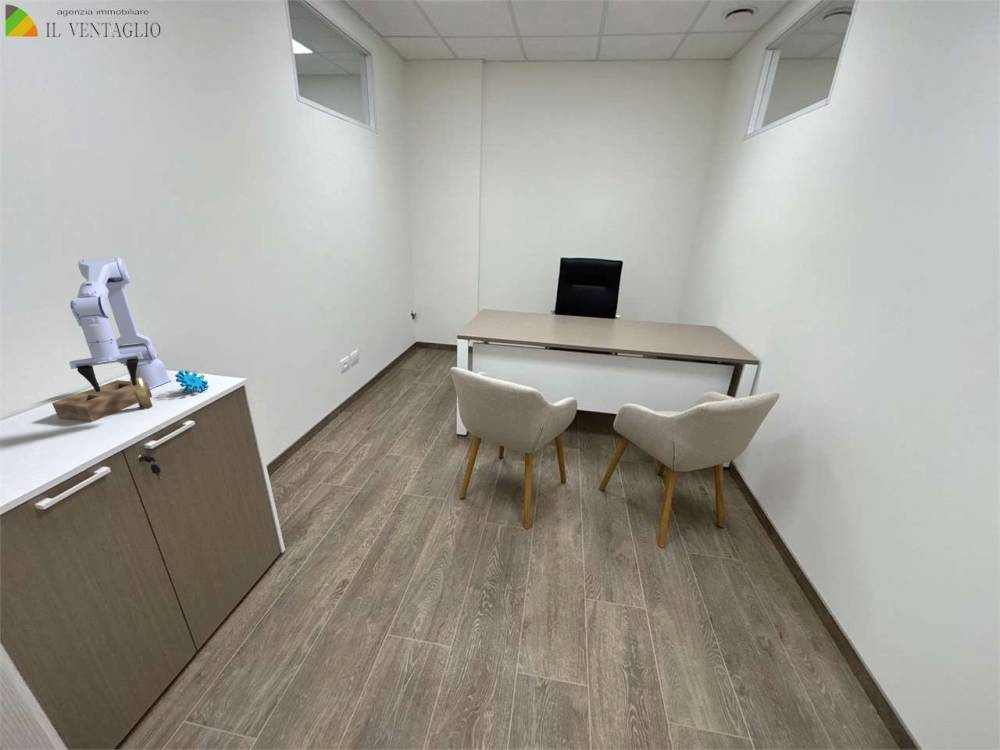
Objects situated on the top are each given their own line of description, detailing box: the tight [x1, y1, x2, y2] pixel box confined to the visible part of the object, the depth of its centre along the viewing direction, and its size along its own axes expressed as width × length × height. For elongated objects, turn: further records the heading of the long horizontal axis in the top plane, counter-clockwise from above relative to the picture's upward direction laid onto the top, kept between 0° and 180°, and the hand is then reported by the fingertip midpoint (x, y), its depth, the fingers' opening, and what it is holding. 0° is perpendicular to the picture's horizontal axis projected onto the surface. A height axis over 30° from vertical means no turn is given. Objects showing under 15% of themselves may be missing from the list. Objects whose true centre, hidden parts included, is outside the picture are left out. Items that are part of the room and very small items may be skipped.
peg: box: [129, 376, 153, 410], centre depth 123 cm, size 3×3×10 cm
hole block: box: [51, 379, 153, 423], centre depth 124 cm, size 18×12×5 cm, turn 170°
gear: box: [174, 369, 210, 394], centre depth 136 cm, size 11×6×10 cm
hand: (117, 388), depth 112 cm, fingers open, 7 cm apart
